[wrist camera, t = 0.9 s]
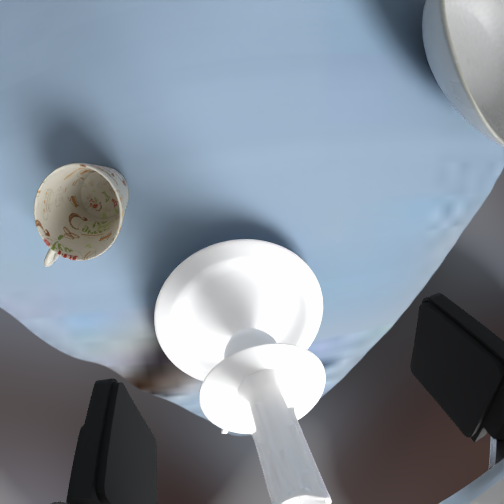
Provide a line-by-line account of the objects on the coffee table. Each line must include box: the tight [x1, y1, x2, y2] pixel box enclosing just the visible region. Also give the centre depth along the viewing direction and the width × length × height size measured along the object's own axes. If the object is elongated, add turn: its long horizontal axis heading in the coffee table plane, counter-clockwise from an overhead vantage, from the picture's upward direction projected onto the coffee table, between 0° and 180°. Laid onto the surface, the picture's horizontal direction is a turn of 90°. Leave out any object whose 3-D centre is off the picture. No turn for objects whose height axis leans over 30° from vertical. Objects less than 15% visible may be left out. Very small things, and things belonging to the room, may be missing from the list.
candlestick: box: [154, 239, 332, 504], centre depth 29 cm, size 21×25×28 cm
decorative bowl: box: [422, 0, 504, 147], centre depth 29 cm, size 27×27×12 cm
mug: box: [34, 163, 129, 267], centre depth 29 cm, size 8×13×10 cm, turn 138°
